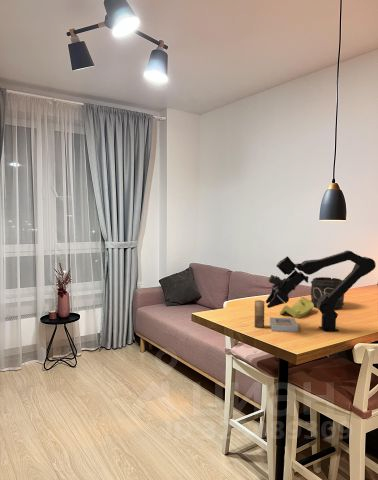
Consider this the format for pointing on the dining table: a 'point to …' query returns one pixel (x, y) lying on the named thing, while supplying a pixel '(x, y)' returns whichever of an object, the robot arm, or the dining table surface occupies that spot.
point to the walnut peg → (259, 314)
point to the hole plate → (283, 324)
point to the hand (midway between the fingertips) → (266, 304)
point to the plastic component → (298, 308)
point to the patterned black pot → (325, 290)
